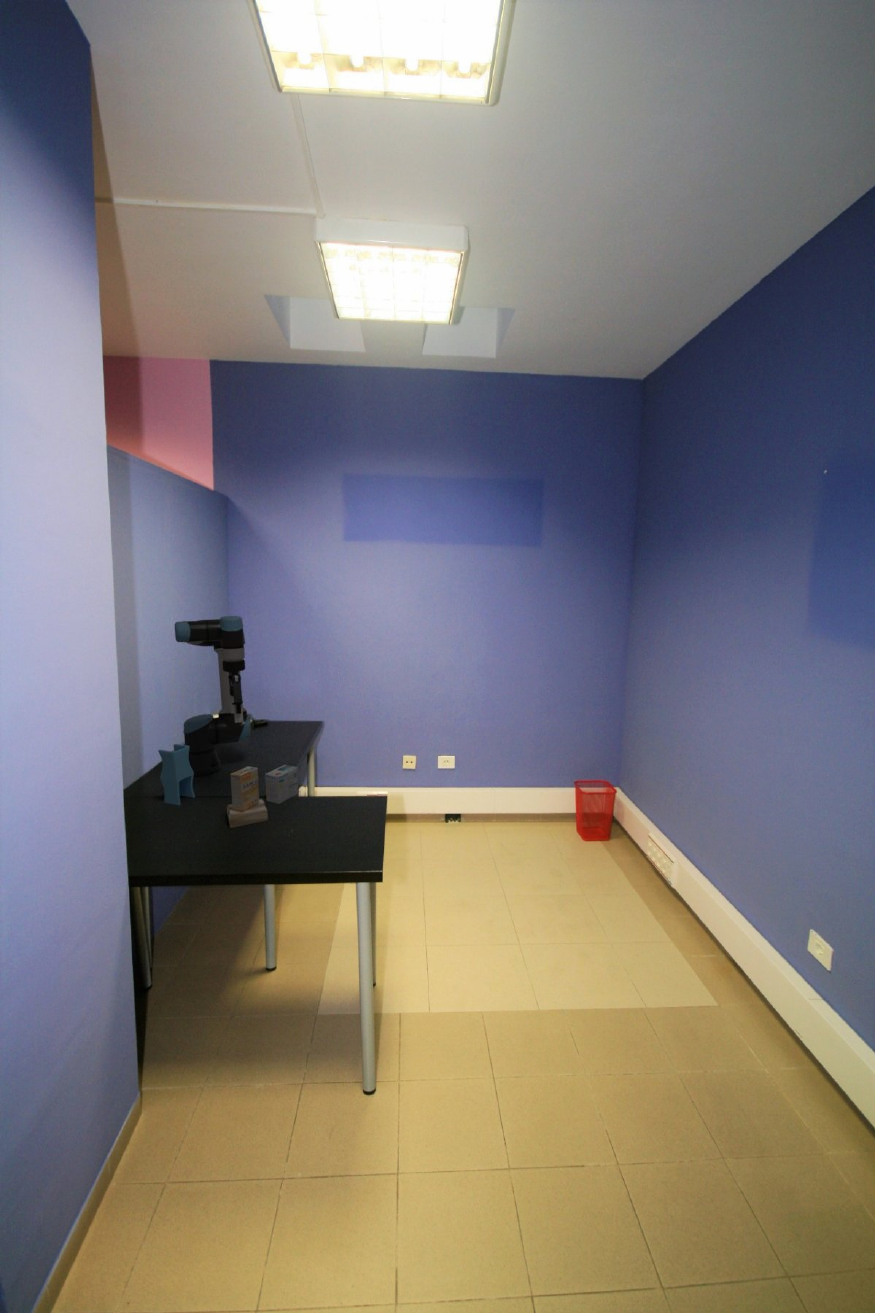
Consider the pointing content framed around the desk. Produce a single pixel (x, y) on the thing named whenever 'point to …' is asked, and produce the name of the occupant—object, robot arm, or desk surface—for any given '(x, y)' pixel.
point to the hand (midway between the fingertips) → (237, 717)
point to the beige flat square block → (247, 815)
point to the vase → (176, 774)
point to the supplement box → (244, 788)
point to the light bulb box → (281, 784)
